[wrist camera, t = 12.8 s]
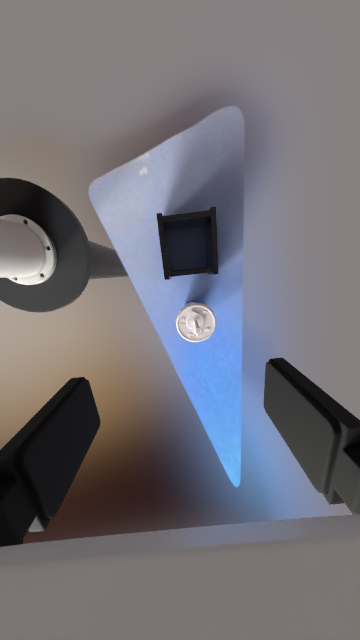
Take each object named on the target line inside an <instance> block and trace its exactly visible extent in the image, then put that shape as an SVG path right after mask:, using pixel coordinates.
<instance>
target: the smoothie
mask: <svg viewBox="0 0 360 640" xmlns="http://www.w3.org/2000/svg"><path fill="white" fill-rule="evenodd" d="M176 325H177V330H178V332H179V334H180V335H181V336H182V337H183V338H184V339H186V340H188V341H191V342H201V341H204V340H206V339H207V338H209V337H210V336H211V335H212V334H213V332H214V330H215V327H216V318H215V315H214V313H213V311H212V310H211V309H210V308H209V307H208V306H206V305H204V304H201V303H195V302H189V303H187V304H186V305H185V306H184V308H182V309H181V310H180V312H179V313H178V316H177V319H176Z"/></svg>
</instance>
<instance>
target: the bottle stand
mask: <svg viewBox="0 0 360 640" xmlns="http://www.w3.org/2000/svg"><path fill="white" fill-rule="evenodd" d="M157 221H158V229H159V237H160V245H161V253H162V261H163V269H164V277H165V280H166V279H170V278H171V276H180V275H190V274H199V273H208V274H218V252H217V226H216V207H211V208H210V210H209V211H202V212H193V213H185V214H176V215H167V216H162V213H159V214H157ZM197 227H205V232H206V250H207V268H199V269H190V270H180V271H171V272H170V263H169V254H168V246H167V237H166V231H171V230H180V229H189V228H197Z"/></svg>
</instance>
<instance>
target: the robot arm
mask: <svg viewBox="0 0 360 640" xmlns="http://www.w3.org/2000/svg"><path fill="white" fill-rule="evenodd" d="M56 263H57V254H56V249H55V246H54V243H53V241H52V239H51V238H50V236H49V234H48V233H47V232H46V231H45V230H44V228H42V227H41V226H40V225H39V224H38V223H36V222H34V221H33V220H31V219H28V218H26V217H23V216H20V215H13V214H10V215H4V216H1V217H0V278H2V277H7V278H9V279H10V280H12V281H14V282H17V283H20V284H25V285H32V284H39V283H42V282H44V281H46V280H47V279H48V278H49V277H50V276H51V275H52V274H53V272H54V270H55V267H56ZM264 408H265V410H266V413H267V414H268V416H269V417H270V419H271V420H272V422H273V423H274V425H275V427H276V428H277V430H278V431H279V433H280V434H281V436H282V437H283V439H284V441H285V442H286V444H287V445H288V447H289V448H290V450H291V452H292V453H293V455H294V456H295V458H296V459H297V461H298V463H299V464H300V466H301V467H302V469H303V470H304V472H305V473H306V475H307V477H308V478H309V480H310V481H311V483H312V484H313V486H314V487H315V489H316V490H317V491H318V492H320V493H323V495H324V497H325V498H326V499H327V501H328V503H329V504H340V503H345V504H346V505H347V507H348V508H349V510H350V511H351V512H352V515H345V516H328V517H312V518H301V519H289V520H277V521H265V522H253V523H241V524H229V525H218V526H208V527H197V528H185V529H174V530H163V531H152V532H141V533H130V534H120V535H109V536H100V537H90V538H79V539H68V540H59V541H49V542H39V543H29V544H23V538H24V536H25V535H26V533H27V531H28V530H29V531H30V532H35V531H44V530H45V529H46V527H47V525H48V524H49V522H50V520H51V518H52V517H54V516H55V515H56V513H57V512H58V510H59V508H60V506H61V504H62V502H63V500H64V498H65V496H66V494H67V492H68V490H69V488H70V486H71V484H72V482H73V480H74V478H75V476H76V474H77V471H78V470H79V467H80V465H81V463H82V461H83V459H84V457H85V455H86V453H87V451H88V449H89V447H90V445H91V443H92V441H93V439H94V437H95V435H96V433H97V431H98V429H99V427H100V418H99V414H98V411H97V407H96V404H95V400H94V397H93V394H92V390H91V387H90V383H89V381H88V380H86V379H85V378H84V377H79V378H72V379H70V380H69V381H68V382H67V383H66V384H65V385H64V386H63V387H62V388H61V389H60V390H59V391H58V392H57V393H56V394H55V395H54V396H53V397H52V398H51V399H50V400H49V401H48V402H47V403H46V404H45V405H44V406H43V407H42V408H41V409H40V411H38V413H36V414H35V415H34V417H32V418H31V420H30V421H29V422H28V423H27V424H26V425H25V426H24V427H23V428H22V429H21V430H20V431H19V432H18V433H17V434H16V435H15V436H14V437H13V438H12V439H11V440H10V441H9V442H8V443H7V444H6V445H5V446H4V447H3V448H2V449H1V450H0V640H360V420H359V419H357V418H356V417H355V416H354V415H352V414H351V413H350V412H349V411H348V410H346V409H345V408H344V407H343V406H341V405H340V404H339V403H338V402H336V401H335V400H334V399H333V398H331V397H330V396H329V395H328V394H327V393H325V392H324V391H323V390H322V389H320V388H319V387H318V386H317V385H315V384H314V383H313V382H312V381H310V380H309V379H308V378H307V377H306V376H304V375H303V374H302V373H301V372H299V371H298V370H297V369H296V368H295V367H293V366H292V365H291V364H290V363H288V362H287V361H286V360H285V359H283V358H274V359H270V360H269V362H267V363H266V371H265V389H264Z"/></svg>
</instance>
